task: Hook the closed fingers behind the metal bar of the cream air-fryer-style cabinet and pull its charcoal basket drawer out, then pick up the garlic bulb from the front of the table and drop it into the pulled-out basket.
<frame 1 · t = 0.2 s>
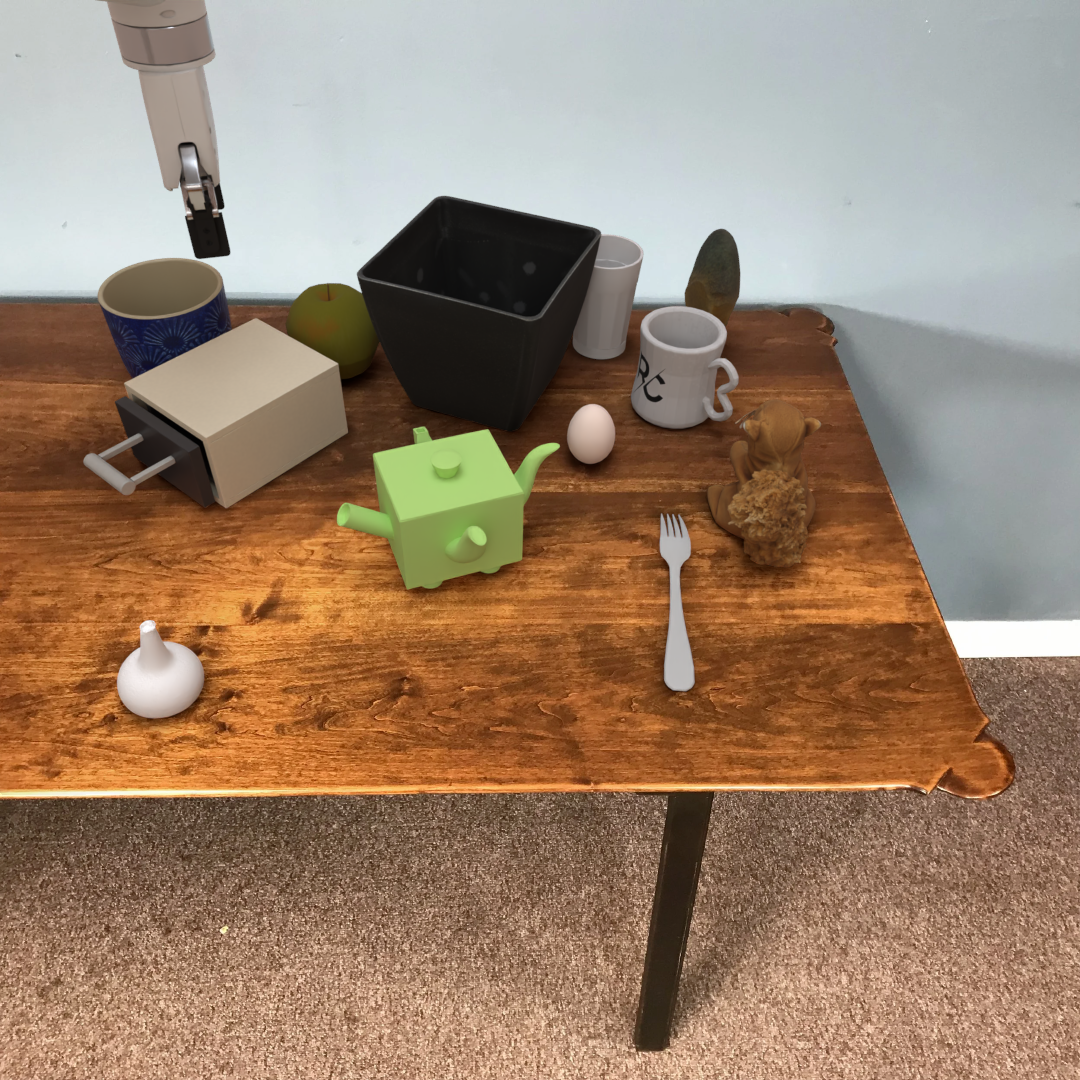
hand: (210, 231, 89), 18 cm above the table, tool pointing down, fingers open, 9 cm apart
kettle: (456, 556, 84), on the table
mug: (681, 415, 101), on the table
planter: (186, 375, 103), on the table
cup: (598, 345, 110), on the table
decorative stone: (701, 352, 110), on the table
stuffed squirrel: (760, 535, 88), on the table
fork: (673, 596, 82), on the table
flower pot: (485, 391, 103), on the table
cabinet: (250, 442, 95), on the table
apple: (339, 370, 105), on the table
drawer: (198, 432, 89), point 4 cm above the table, slide at 0.5 cm
egg: (588, 461, 95), on the table
garlic bulb: (167, 693, 73), on the table
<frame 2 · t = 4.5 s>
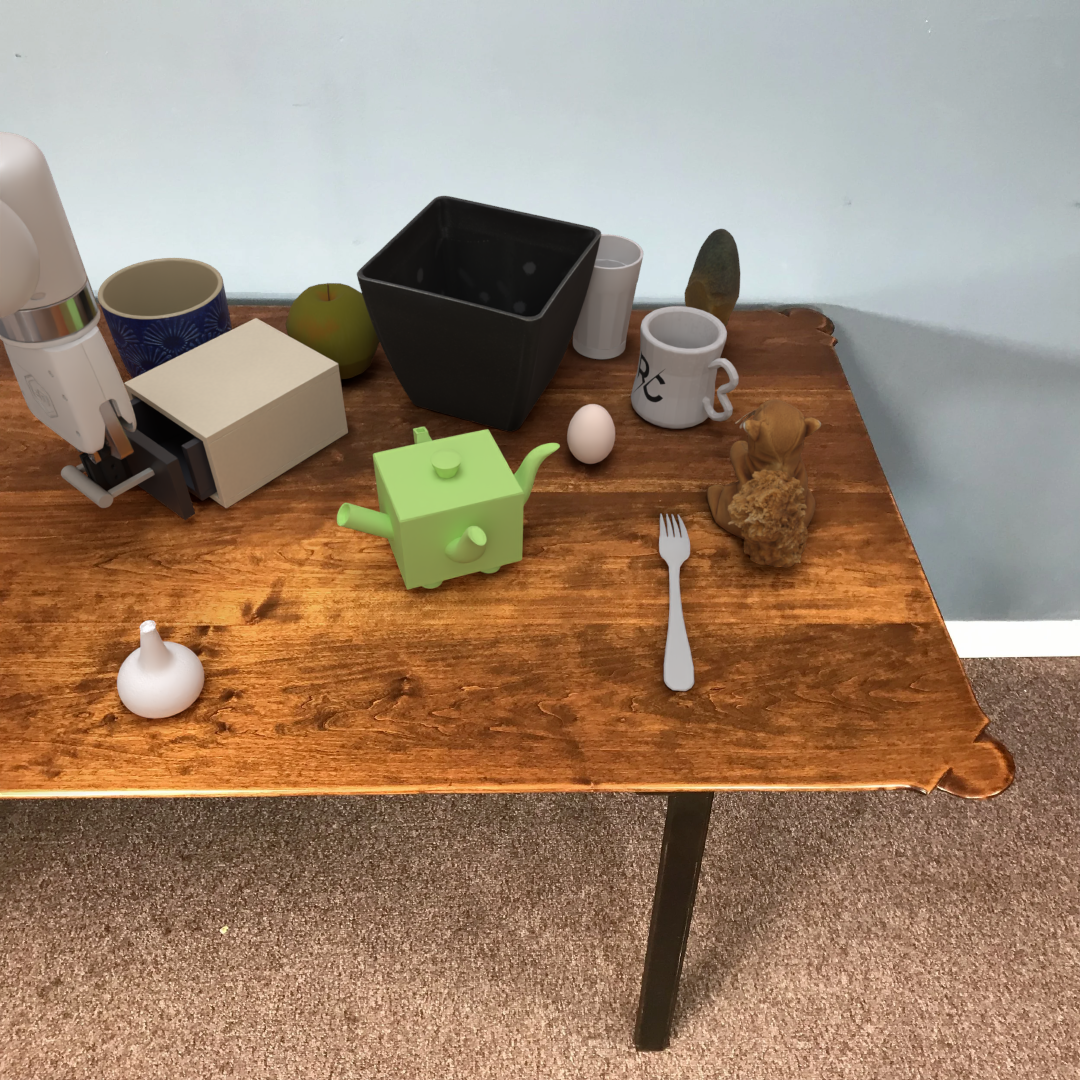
hand: (113, 483, 84), 4 cm above the table, tool pointing down, fingers closed
drawer: (179, 443, 88), point 4 cm above the table, slide at 2.7 cm
everything else where it was.
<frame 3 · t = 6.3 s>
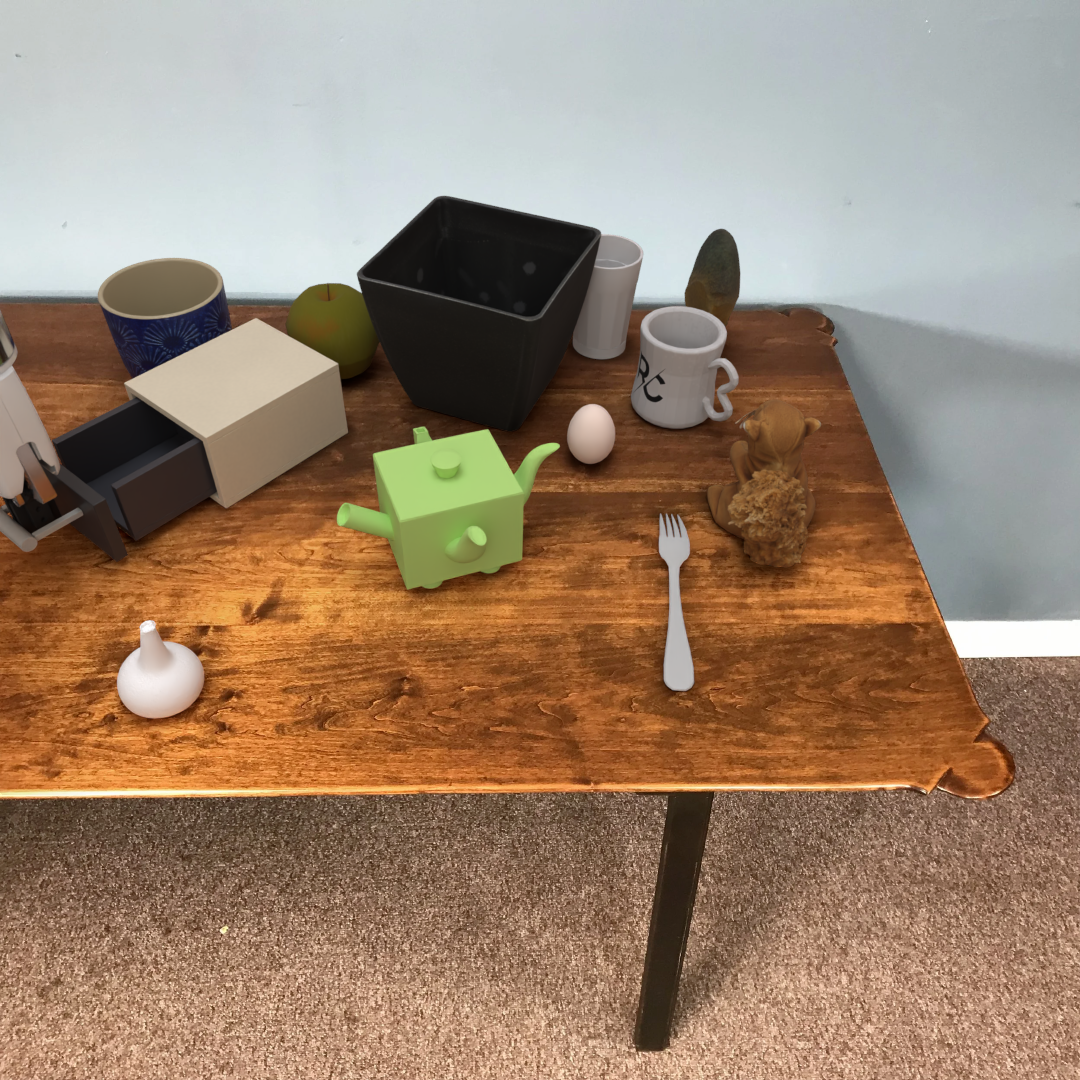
hand: (41, 526, 80), 4 cm above the table, tool pointing down, fingers closed
drawer: (112, 480, 84), point 4 cm above the table, slide at 9.8 cm
everything else where it was.
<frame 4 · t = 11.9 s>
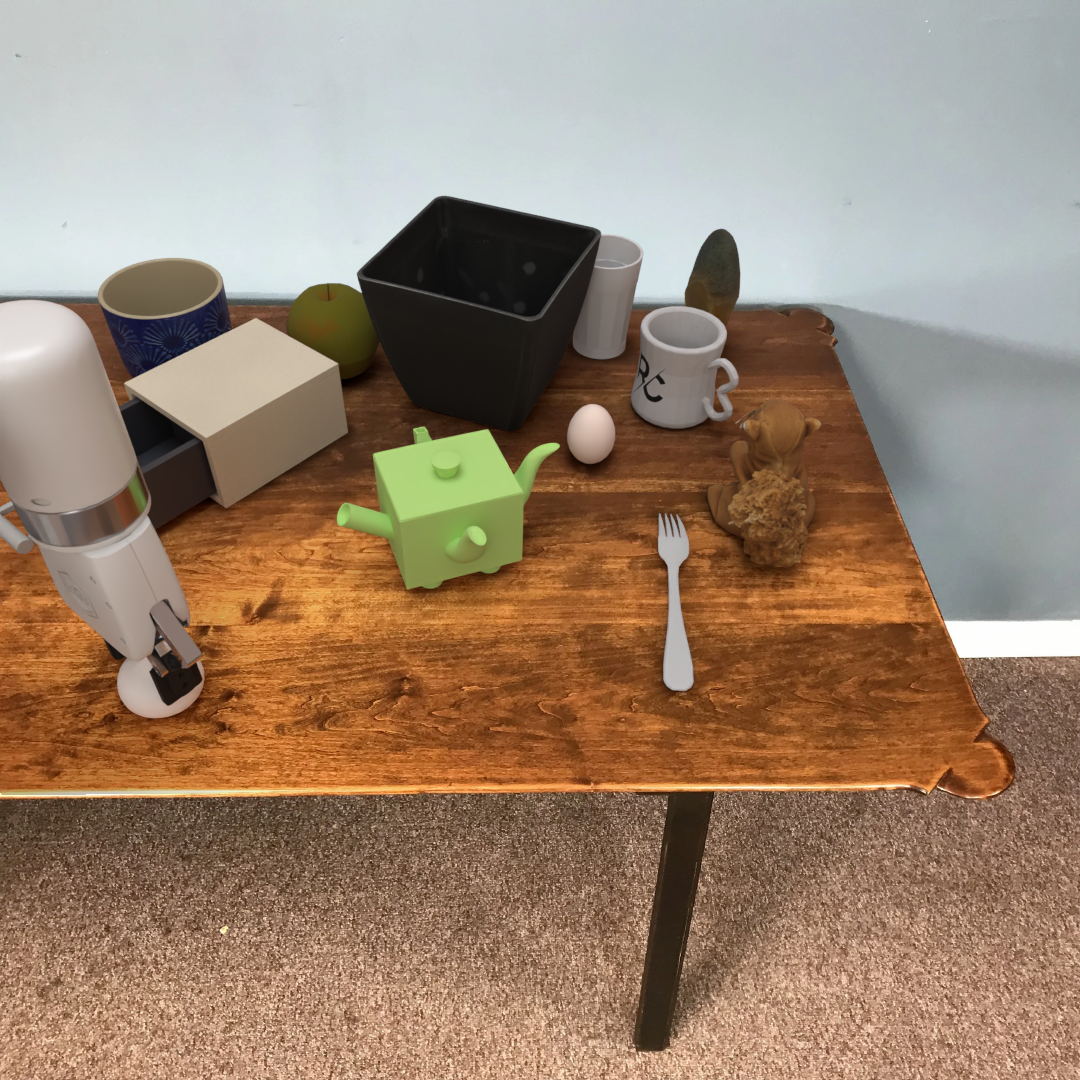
hand: (157, 668, 71), 3 cm above the table, tool pointing down, fingers closed on garlic bulb, 5 cm apart
drawer: (109, 482, 83), point 4 cm above the table, slide at 10.2 cm
garlic bulb: (167, 693, 73), on the table, touching gripper
everything else where it was.
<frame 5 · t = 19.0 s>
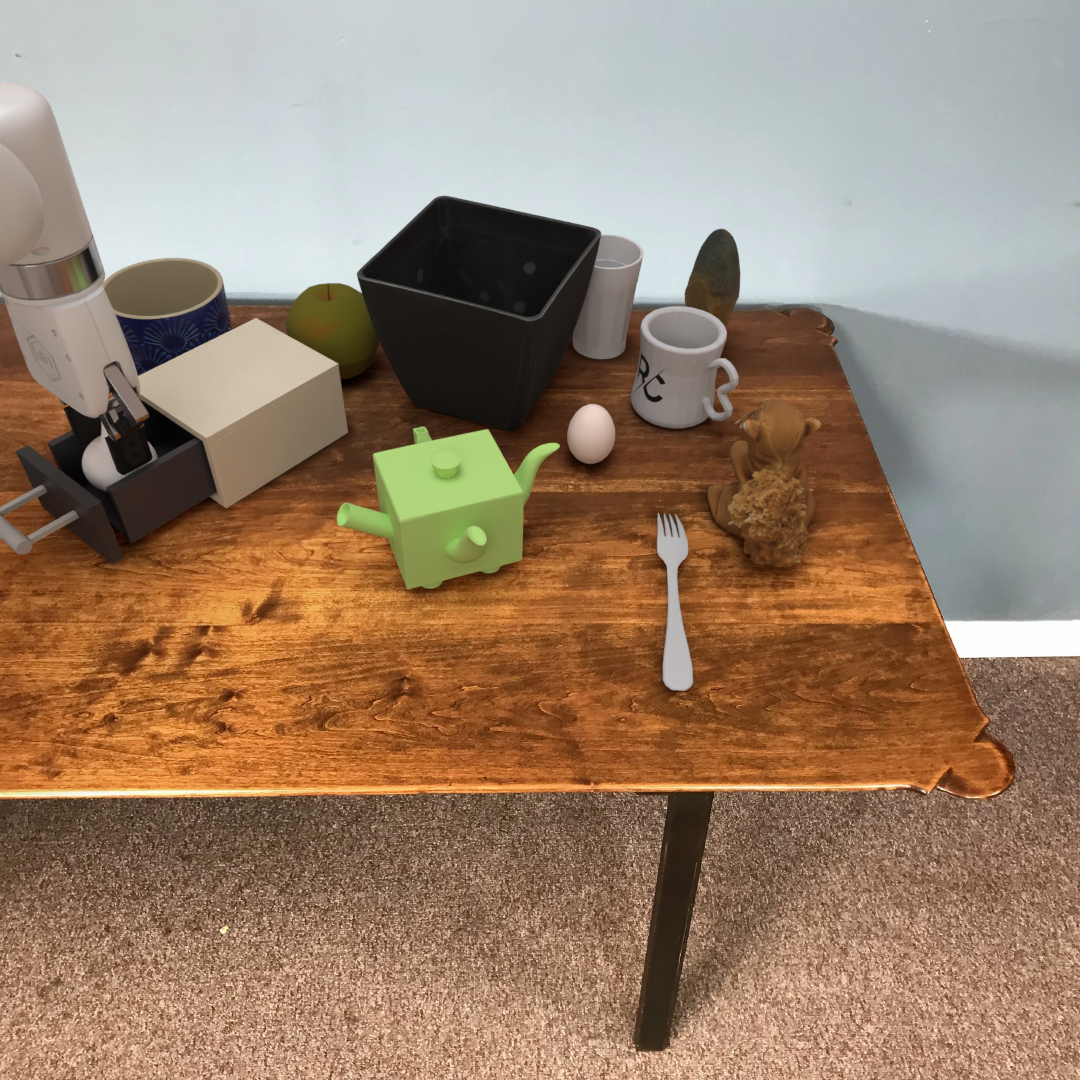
hand: (114, 450, 82), 7 cm above the table, tool pointing down, fingers closed on garlic bulb, 5 cm apart
garlic bulb: (126, 478, 84), point 4 cm above the table, touching gripper
everything else where it was.
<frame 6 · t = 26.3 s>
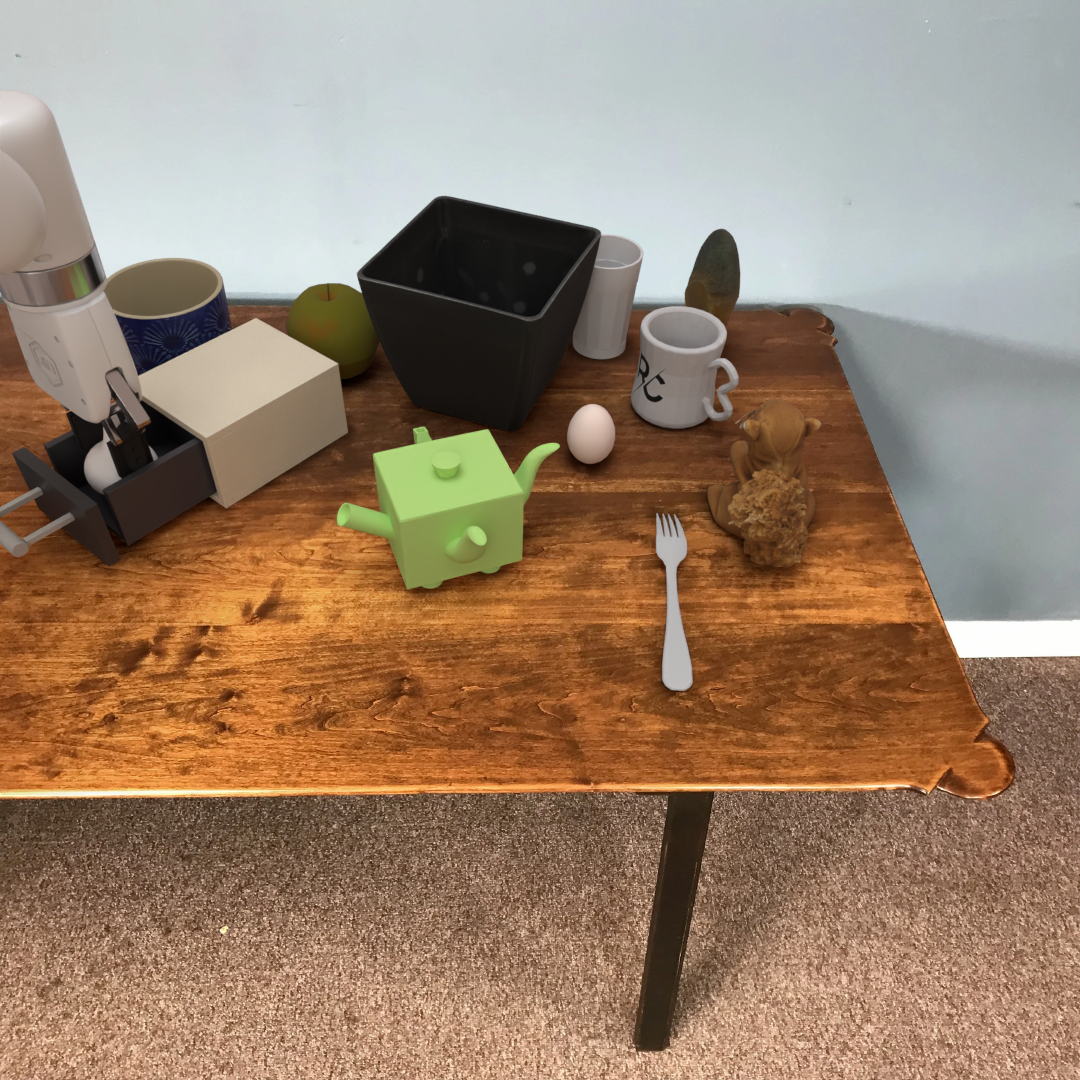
hand: (116, 454, 82), 7 cm above the table, tool pointing down, fingers closed on garlic bulb, 5 cm apart
drawer: (105, 485, 83), point 4 cm above the table, slide at 10.6 cm
garlic bulb: (128, 482, 85), point 3 cm above the table, touching gripper
everything else where it was.
when the fingers open (8 cm above the table, at t = 28.2 s): garlic bulb drops 3 cm, resting on drawer.
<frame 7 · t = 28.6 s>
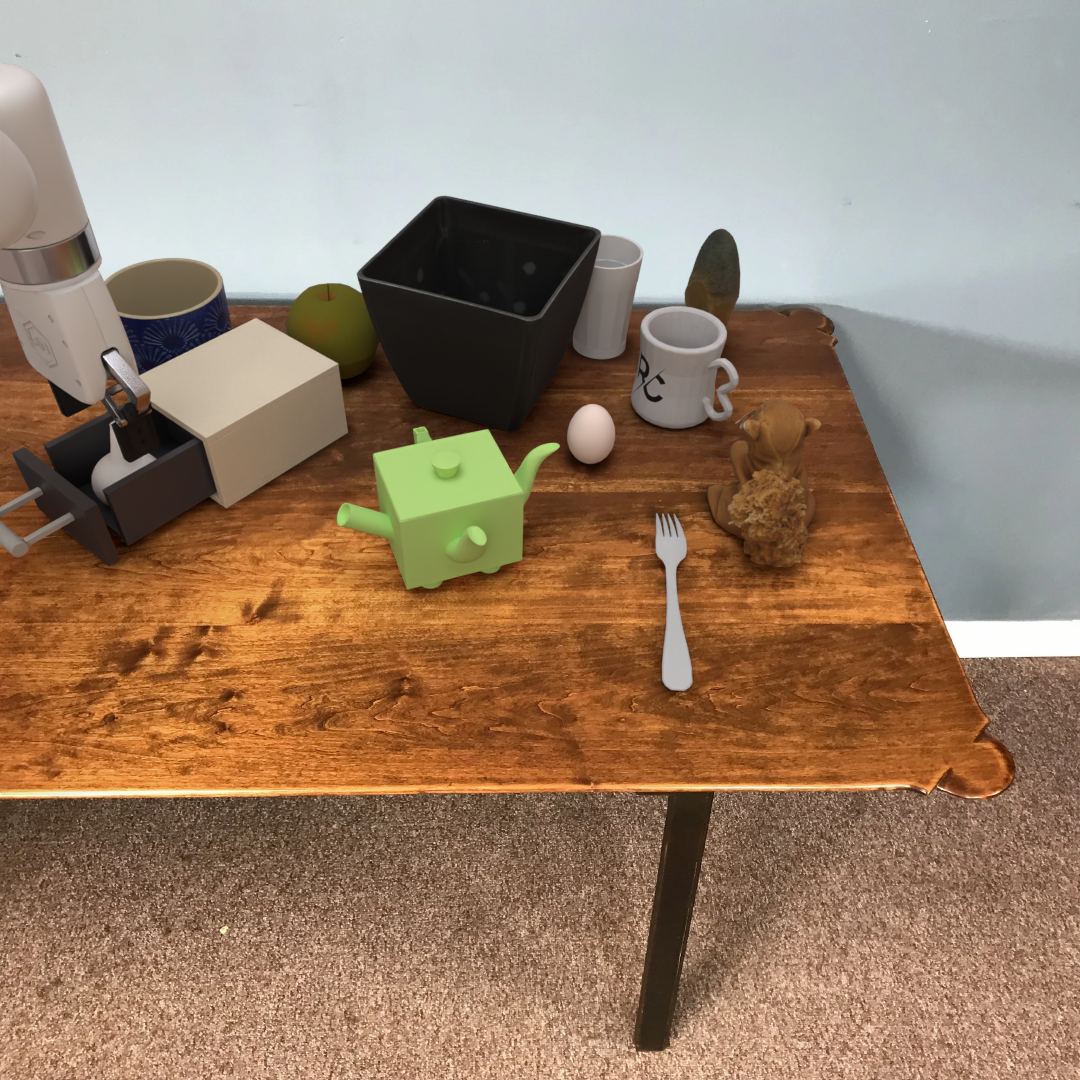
hand: (110, 430, 81), 9 cm above the table, tool pointing down, fingers open, 9 cm apart
drawer: (104, 485, 83), point 4 cm above the table, slide at 10.6 cm, touching garlic bulb
garlic bulb: (134, 494, 86), point 2 cm above the table, touching drawer
everything else where it was.
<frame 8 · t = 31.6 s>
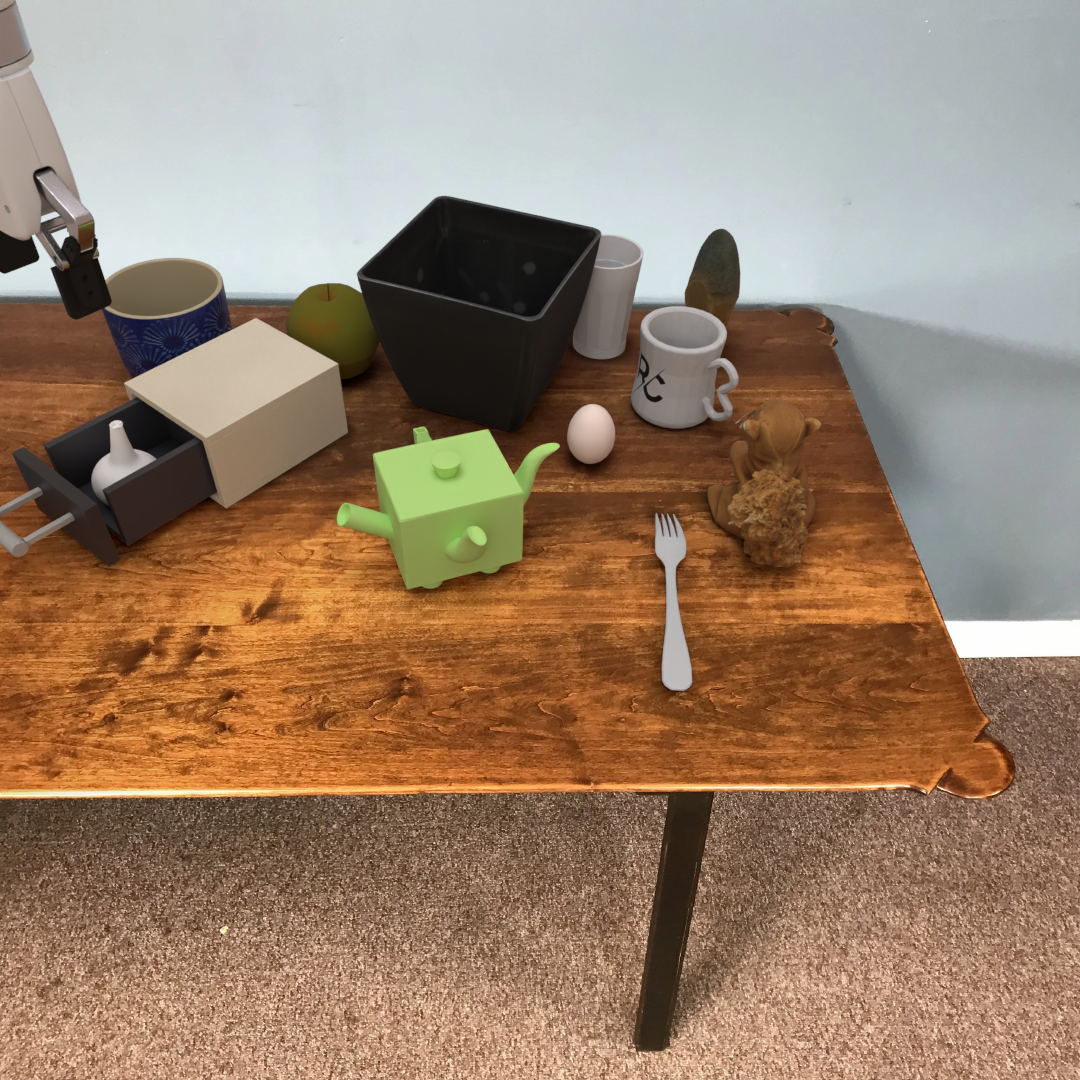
hand: (54, 288, 69), 24 cm above the table, tool pointing down, fingers open, 9 cm apart
nothing on the table moved.
at the end: drawer slide at 10.6 cm; garlic bulb inside the target area in the drawer (0.9 cm from its centre), point 1.8 cm above the cabinet's base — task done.
